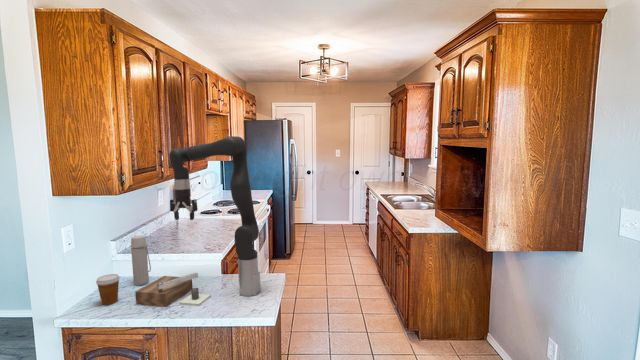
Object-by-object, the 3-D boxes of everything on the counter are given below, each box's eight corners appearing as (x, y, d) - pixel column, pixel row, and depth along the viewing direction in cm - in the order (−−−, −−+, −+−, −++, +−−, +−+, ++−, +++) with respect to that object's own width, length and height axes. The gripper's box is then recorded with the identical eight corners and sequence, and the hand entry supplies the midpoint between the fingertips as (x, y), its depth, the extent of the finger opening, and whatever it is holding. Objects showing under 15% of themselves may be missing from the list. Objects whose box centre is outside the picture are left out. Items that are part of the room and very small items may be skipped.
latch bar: (198, 277, 174) (198, 272, 174) (158, 289, 160) (158, 284, 160) (195, 276, 176) (195, 271, 176) (156, 288, 162) (156, 283, 162)
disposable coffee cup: (94, 308, 161) (92, 282, 160) (101, 299, 170) (99, 275, 169) (118, 305, 164) (116, 279, 163) (123, 296, 173) (121, 272, 172)
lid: (211, 297, 170) (210, 285, 169) (199, 307, 160) (198, 294, 160) (192, 296, 172) (191, 284, 172) (179, 305, 163) (178, 292, 162)
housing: (192, 289, 180) (191, 274, 179) (166, 307, 160) (165, 290, 160) (165, 287, 184) (164, 273, 183) (136, 304, 164) (134, 288, 164)
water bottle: (138, 287, 185) (135, 239, 182) (130, 284, 189) (126, 237, 187) (155, 281, 192) (152, 235, 190) (147, 278, 197) (143, 233, 194)
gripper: (199, 187, 184) (201, 218, 185) (174, 187, 187) (176, 217, 189) (190, 188, 176) (192, 221, 178) (165, 189, 180) (167, 220, 181)
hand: (184, 219), depth 183 cm, fingers open, 8 cm apart
